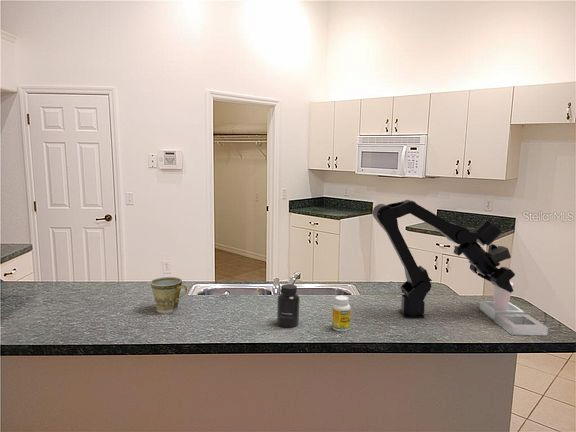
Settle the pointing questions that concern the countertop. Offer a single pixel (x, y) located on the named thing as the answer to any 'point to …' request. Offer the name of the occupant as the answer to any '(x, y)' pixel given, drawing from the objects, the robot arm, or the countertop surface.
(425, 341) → the countertop surface
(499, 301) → the smoothie
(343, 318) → the supplement bottle
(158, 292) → the ceramic cup
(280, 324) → the supplement bottle
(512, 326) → the bore block
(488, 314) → the tray
